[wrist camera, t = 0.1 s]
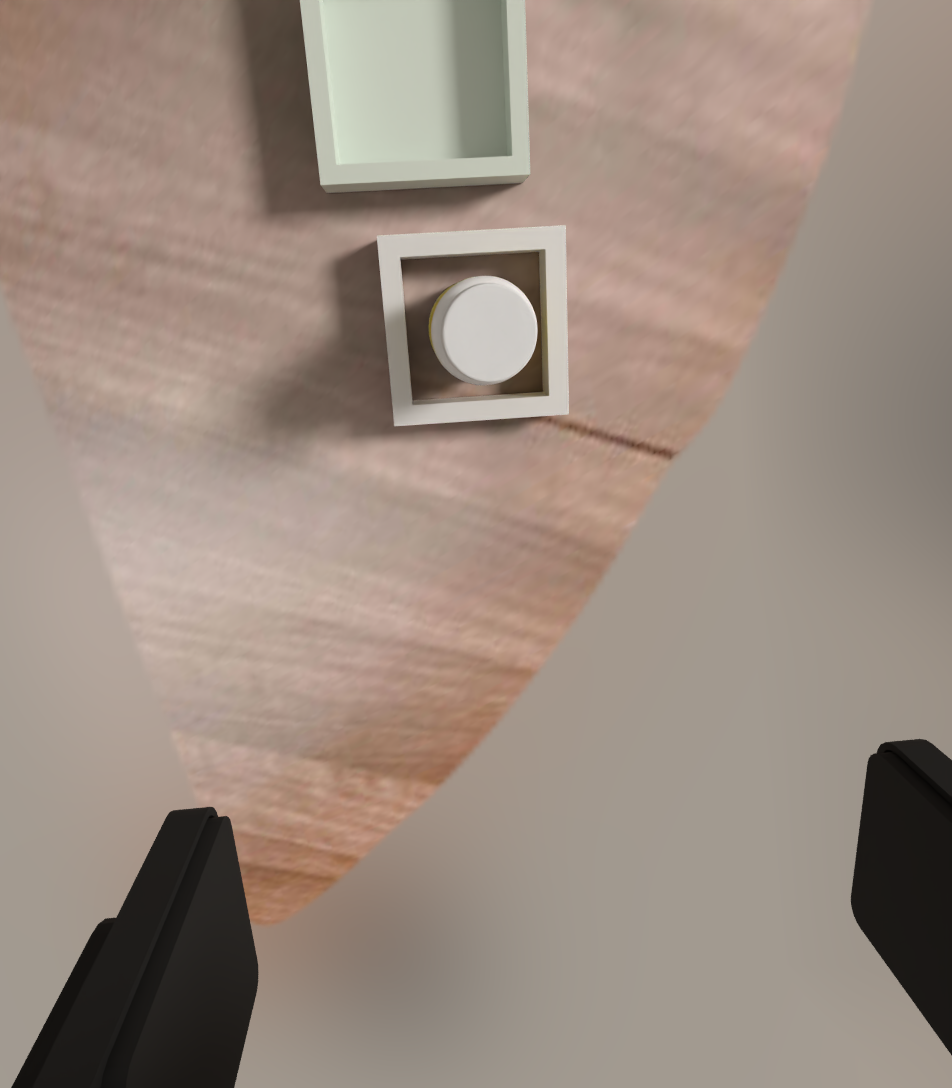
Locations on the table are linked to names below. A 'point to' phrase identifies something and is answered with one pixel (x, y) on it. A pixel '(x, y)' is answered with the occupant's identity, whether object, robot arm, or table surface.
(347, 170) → the tray
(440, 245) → the collar holder
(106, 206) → the table surface
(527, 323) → the supplement bottle
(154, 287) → the table surface
